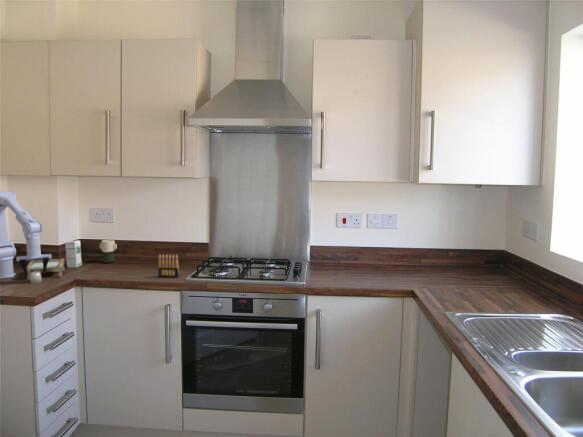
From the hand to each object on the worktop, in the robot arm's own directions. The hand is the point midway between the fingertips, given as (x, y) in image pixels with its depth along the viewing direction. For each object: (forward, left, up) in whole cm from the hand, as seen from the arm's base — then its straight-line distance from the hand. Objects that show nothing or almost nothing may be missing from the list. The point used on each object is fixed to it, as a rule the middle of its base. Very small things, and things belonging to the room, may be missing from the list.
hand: (35, 274), depth 210 cm
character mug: (+33, +33, -4) cm, 47 cm away
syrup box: (+15, +30, -4) cm, 34 cm away
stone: (0, 0, -4) cm, 4 cm away
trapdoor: (+3, +14, +1) cm, 14 cm away
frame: (+3, +14, -4) cm, 15 cm away
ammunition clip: (+61, -16, -4) cm, 63 cm away
